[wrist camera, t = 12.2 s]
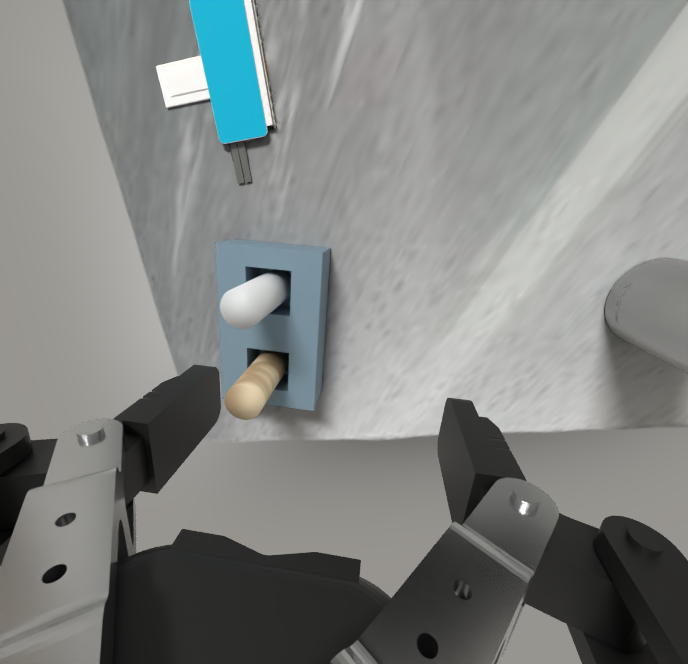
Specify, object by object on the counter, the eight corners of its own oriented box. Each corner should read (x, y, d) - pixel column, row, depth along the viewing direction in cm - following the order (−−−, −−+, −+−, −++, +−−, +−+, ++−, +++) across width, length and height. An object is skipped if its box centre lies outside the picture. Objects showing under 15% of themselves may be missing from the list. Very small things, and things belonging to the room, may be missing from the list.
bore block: (330, 248, 38) (306, 261, 26) (321, 390, 44) (298, 450, 32) (236, 239, 39) (173, 248, 27) (239, 379, 45) (190, 434, 33)
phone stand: (134, -34, 32) (121, -46, 30) (252, -68, 30) (245, -84, 28) (191, 192, 38) (183, 191, 37) (292, 175, 36) (288, 173, 35)
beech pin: (292, 344, 41) (261, 388, 31) (291, 370, 42) (261, 422, 32) (263, 341, 41) (223, 383, 31) (263, 367, 42) (225, 417, 32)
